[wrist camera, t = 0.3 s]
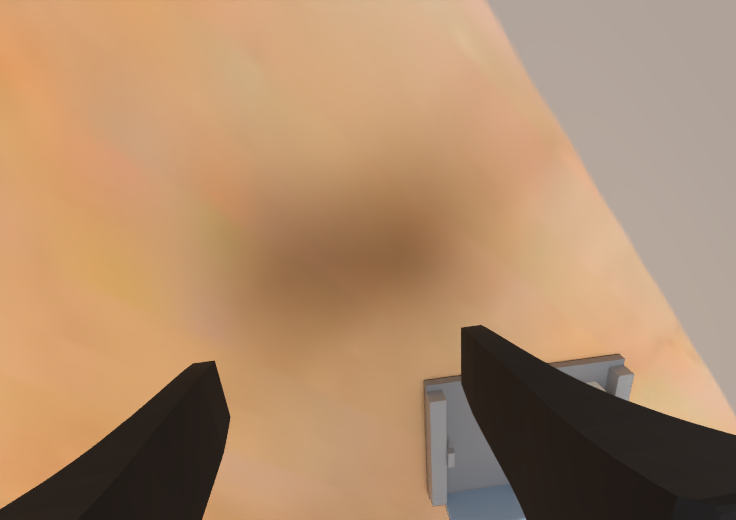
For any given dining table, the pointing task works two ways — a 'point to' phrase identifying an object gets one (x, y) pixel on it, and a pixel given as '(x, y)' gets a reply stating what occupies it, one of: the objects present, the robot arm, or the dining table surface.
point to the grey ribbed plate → (471, 450)
